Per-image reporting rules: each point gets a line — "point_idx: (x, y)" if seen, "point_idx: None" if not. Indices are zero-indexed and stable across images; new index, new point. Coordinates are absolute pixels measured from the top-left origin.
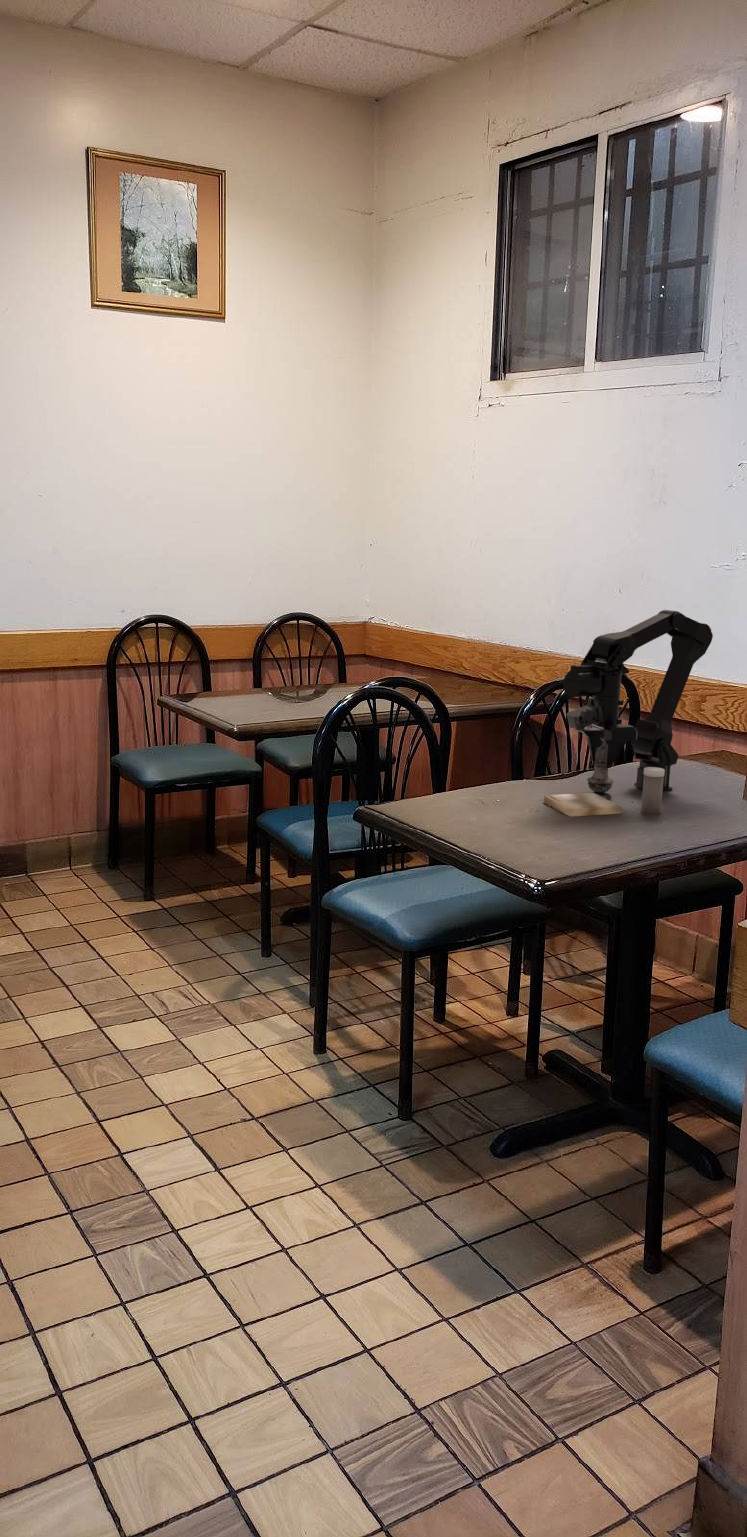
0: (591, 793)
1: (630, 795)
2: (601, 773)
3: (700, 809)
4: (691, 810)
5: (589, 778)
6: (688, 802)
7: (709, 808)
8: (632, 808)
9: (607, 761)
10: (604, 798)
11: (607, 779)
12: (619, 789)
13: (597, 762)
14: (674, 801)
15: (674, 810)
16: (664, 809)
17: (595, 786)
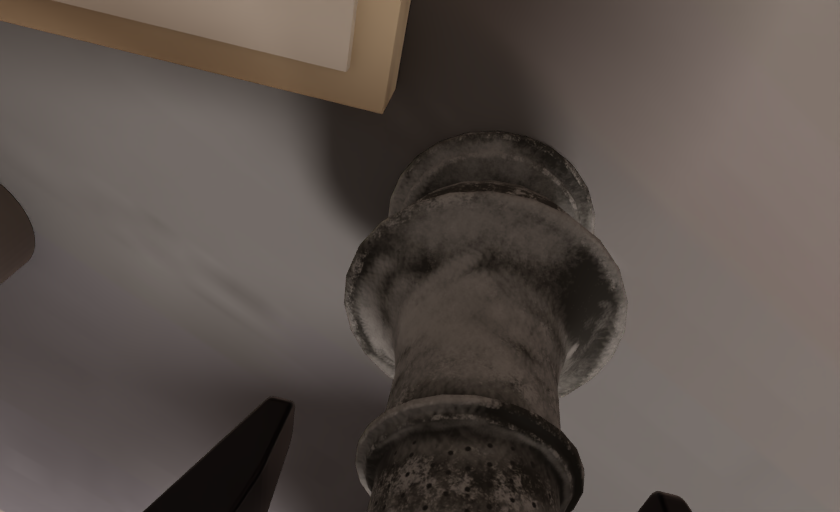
0: (319, 32)
1: None
2: (408, 342)
3: (35, 445)
4: (15, 407)
5: (574, 262)
6: None
7: (54, 479)
8: (68, 175)
9: (200, 463)
10: (86, 8)
11: (387, 339)
12: None
13: (453, 438)
14: None
15: (13, 348)
16: (37, 322)
17: (429, 194)
